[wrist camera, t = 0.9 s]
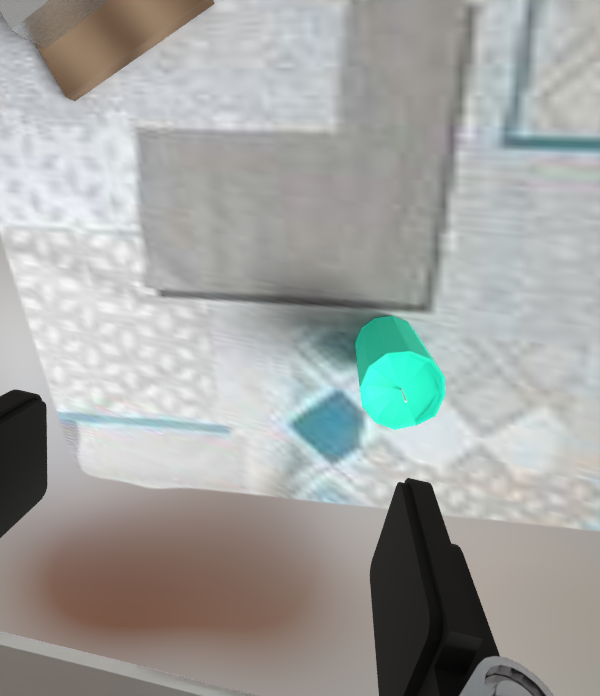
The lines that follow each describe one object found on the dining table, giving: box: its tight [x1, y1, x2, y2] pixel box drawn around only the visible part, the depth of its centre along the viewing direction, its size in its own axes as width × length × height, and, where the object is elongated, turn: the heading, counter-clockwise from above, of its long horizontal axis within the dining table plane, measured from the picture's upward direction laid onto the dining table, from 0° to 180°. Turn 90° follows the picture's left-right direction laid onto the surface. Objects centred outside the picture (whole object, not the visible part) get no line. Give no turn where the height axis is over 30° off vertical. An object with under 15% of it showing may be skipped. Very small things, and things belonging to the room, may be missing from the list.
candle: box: [355, 316, 445, 430], centre depth 33 cm, size 6×6×12 cm
